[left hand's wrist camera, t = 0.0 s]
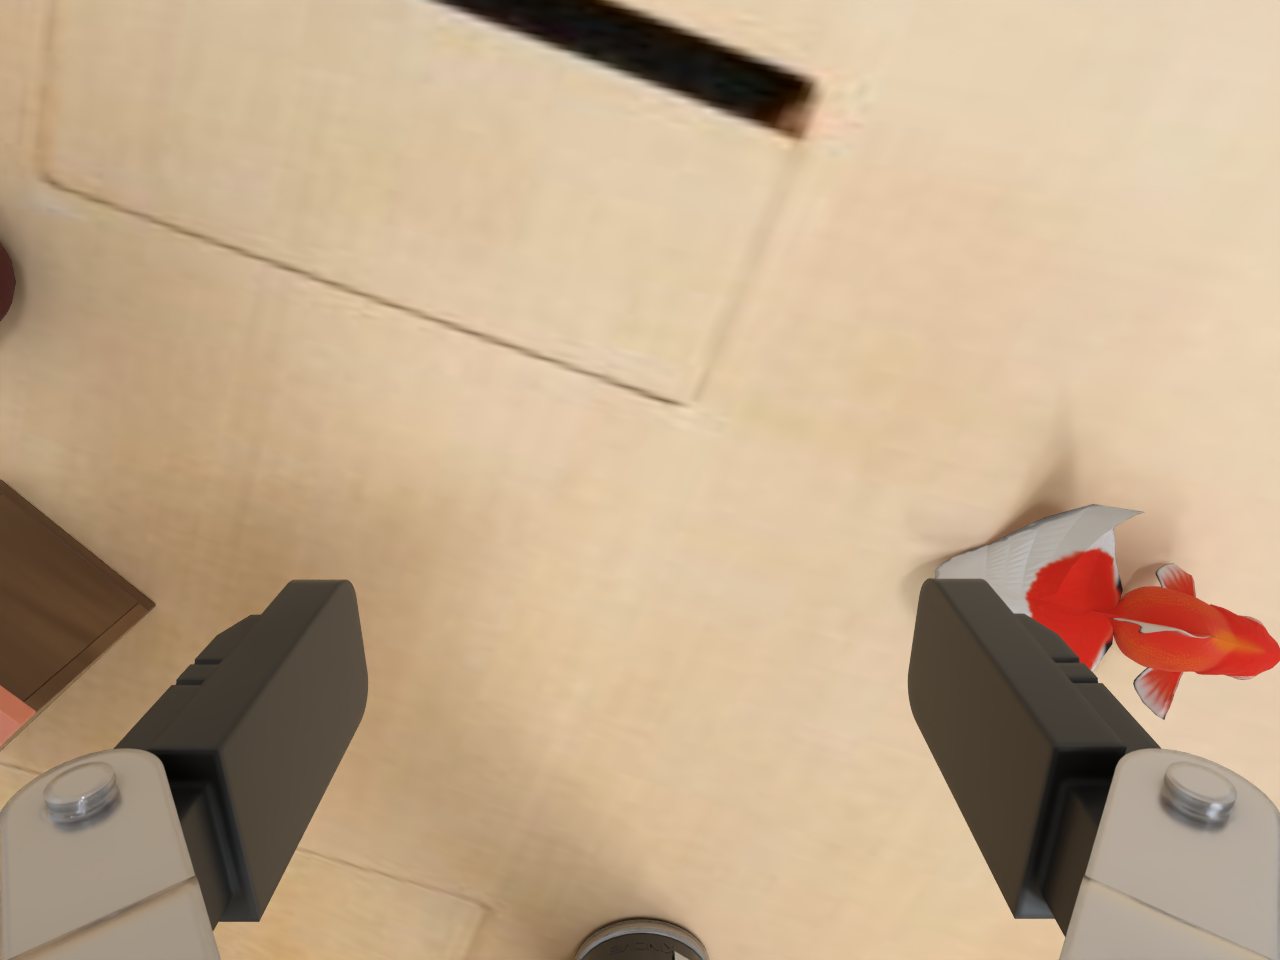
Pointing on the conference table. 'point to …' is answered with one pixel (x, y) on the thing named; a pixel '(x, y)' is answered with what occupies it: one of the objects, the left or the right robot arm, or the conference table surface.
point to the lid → (12, 714)
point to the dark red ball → (6, 282)
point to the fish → (1115, 603)
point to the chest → (54, 606)
